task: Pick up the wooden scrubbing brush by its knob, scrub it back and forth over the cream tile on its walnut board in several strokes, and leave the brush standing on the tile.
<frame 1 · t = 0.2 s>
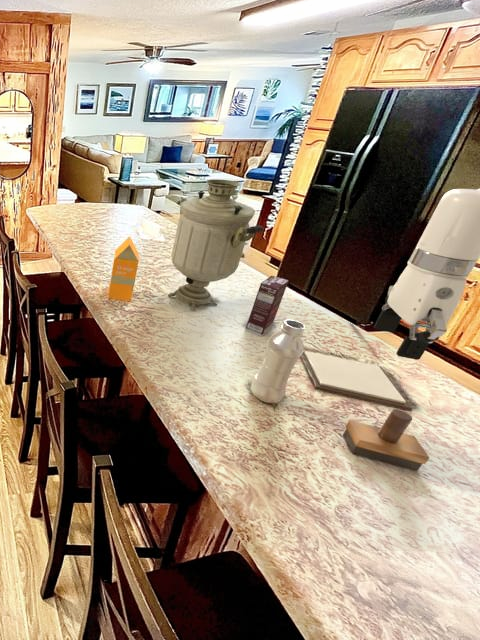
hand: (394, 342, 75), 20 cm above the countertop, tool pointing down, fingers open, 9 cm apart
scrub brush: (378, 452, 76), on the countertop
orange juice: (119, 294, 134), on the countertop
tile board: (348, 378, 96), on the countertop
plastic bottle: (263, 397, 90), on the countertop
napkin holder: (151, 235, 192), on the countertop
supplement box: (257, 329, 116), on the countertop
samovar: (200, 301, 131), on the countertop
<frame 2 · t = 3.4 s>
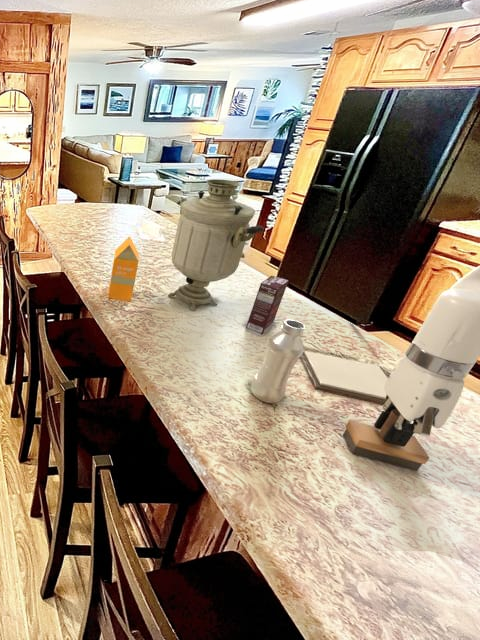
hand: (388, 435, 74), 5 cm above the countertop, tool pointing down, fingers closed on scrub brush, 2 cm apart
scrub brush: (378, 452, 76), on the countertop, touching gripper
everything else where it was.
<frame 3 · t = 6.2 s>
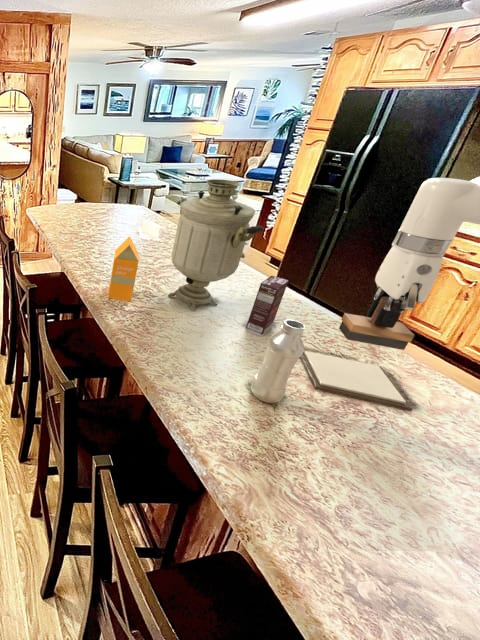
hand: (379, 321, 84), 19 cm above the countertop, tool pointing down, fingers closed on scrub brush, 2 cm apart
scrub brush: (370, 338, 86), point 14 cm above the countertop, touching gripper
everything else where it was.
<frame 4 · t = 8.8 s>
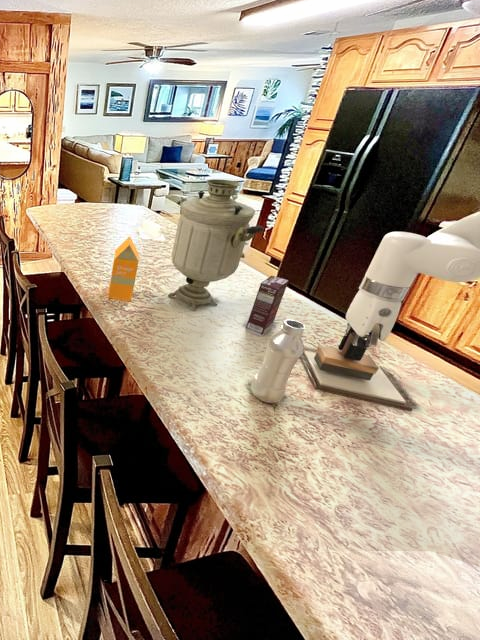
hand: (348, 354, 94), 7 cm above the countertop, tool pointing down, fingers closed on scrub brush, 2 cm apart
scrub brush: (340, 369, 96), point 2 cm above the countertop, touching gripper
everything else where it was.
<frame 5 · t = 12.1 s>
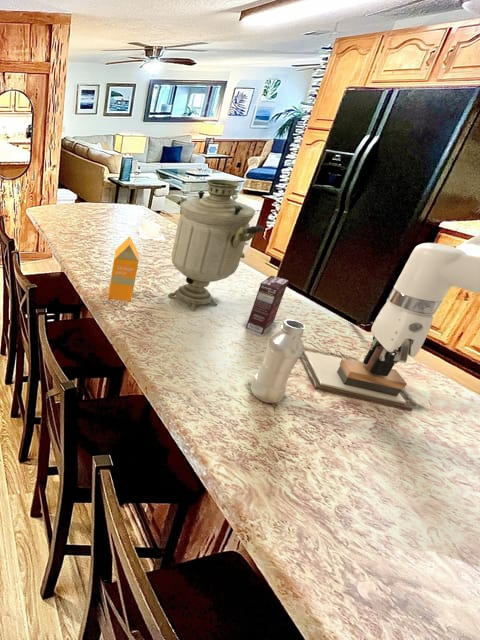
hand: (374, 368, 90), 6 cm above the countertop, tool pointing down, fingers closed on scrub brush, 2 cm apart
scrub brush: (365, 383, 92), point 1 cm above the countertop, touching gripper
everything else where it was.
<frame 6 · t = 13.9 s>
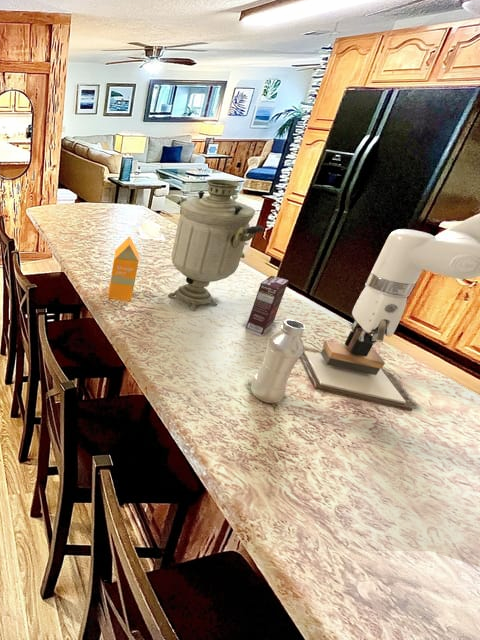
hand: (355, 349, 95), 7 cm above the countertop, tool pointing down, fingers closed on scrub brush, 2 cm apart
scrub brush: (347, 364, 97), point 2 cm above the countertop, touching gripper
everything else where it was.
when the fingers open (6 cm above the countertop, at t = 14.4 s): scrub brush stays where it is, resting on tile board.
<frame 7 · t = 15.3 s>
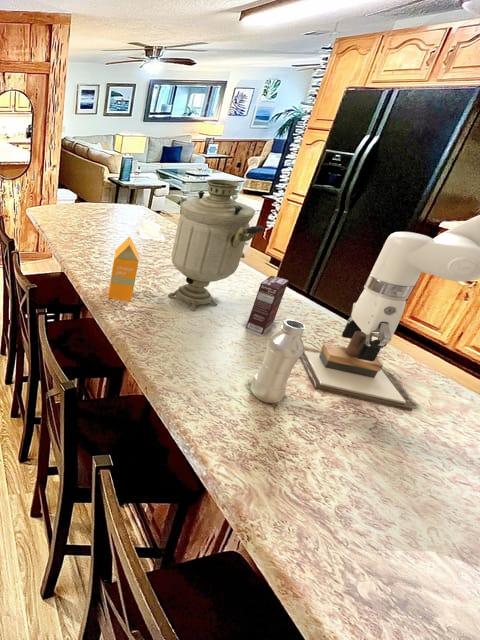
hand: (356, 348, 95), 7 cm above the countertop, tool pointing down, fingers open, 9 cm apart
scrub brush: (345, 366, 98), point 1 cm above the countertop, touching tile board
everything else where it was.
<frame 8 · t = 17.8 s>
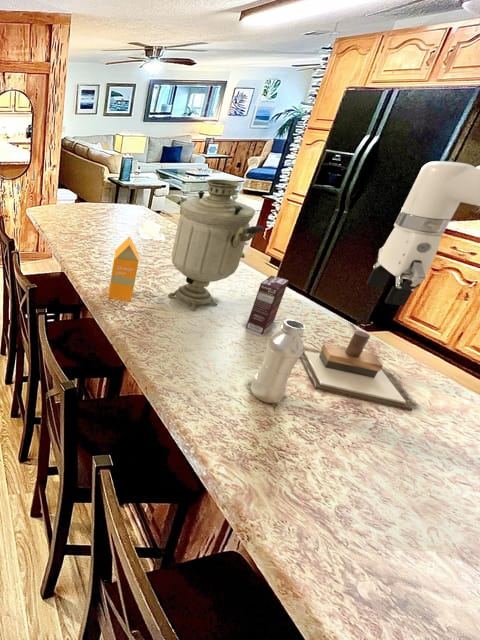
hand: (383, 294, 89), 22 cm above the countertop, tool pointing down, fingers open, 9 cm apart
nothing on the countertop moved.
at the end: scrub brush inside the target area on the tile board (3.0 cm from its centre), point 1.4 cm above the tile board's base; scrub brush tilted 0°; the gripper is holding nothing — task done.
